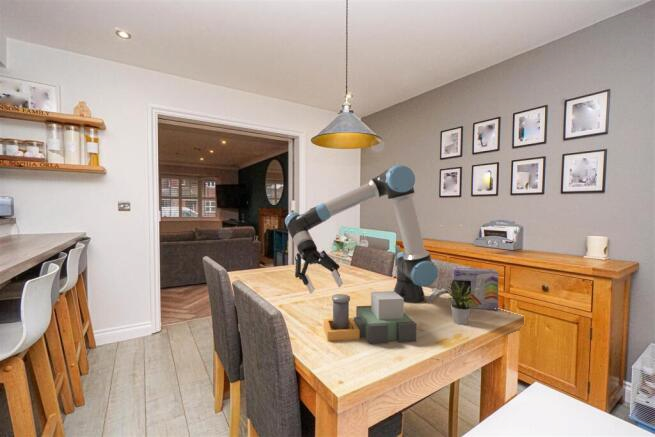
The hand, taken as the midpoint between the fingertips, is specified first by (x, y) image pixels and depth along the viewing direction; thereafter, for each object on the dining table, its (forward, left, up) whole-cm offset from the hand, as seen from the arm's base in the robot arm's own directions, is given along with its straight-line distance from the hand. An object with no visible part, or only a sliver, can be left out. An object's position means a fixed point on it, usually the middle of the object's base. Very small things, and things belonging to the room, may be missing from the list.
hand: (327, 288), depth 106 cm
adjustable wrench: (-60, -31, -15) cm, 69 cm away
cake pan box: (-69, -13, -15) cm, 72 cm away
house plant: (-52, +2, -15) cm, 54 cm away
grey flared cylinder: (-4, +6, -14) cm, 16 cm away
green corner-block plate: (-13, +6, -14) cm, 21 cm away
